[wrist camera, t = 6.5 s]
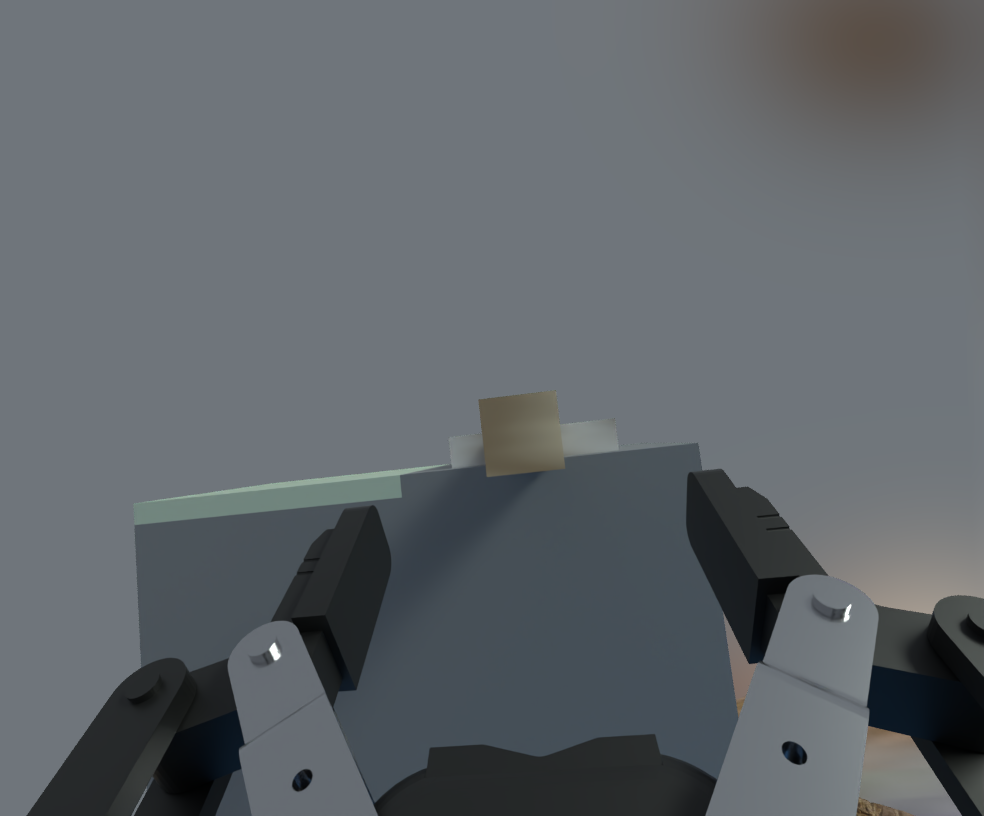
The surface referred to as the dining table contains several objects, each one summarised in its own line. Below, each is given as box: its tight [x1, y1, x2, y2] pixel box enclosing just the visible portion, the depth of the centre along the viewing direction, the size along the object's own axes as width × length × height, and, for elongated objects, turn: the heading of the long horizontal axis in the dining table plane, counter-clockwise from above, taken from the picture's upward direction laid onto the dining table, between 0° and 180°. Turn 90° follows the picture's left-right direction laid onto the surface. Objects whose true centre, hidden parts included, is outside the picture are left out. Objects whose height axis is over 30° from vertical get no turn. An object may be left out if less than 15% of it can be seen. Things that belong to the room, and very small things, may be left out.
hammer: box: [449, 390, 619, 477], centre depth 22 cm, size 8×20×2 cm, turn 174°
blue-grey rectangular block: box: [134, 443, 738, 816], centre depth 26 cm, size 26×12×32 cm, turn 84°
